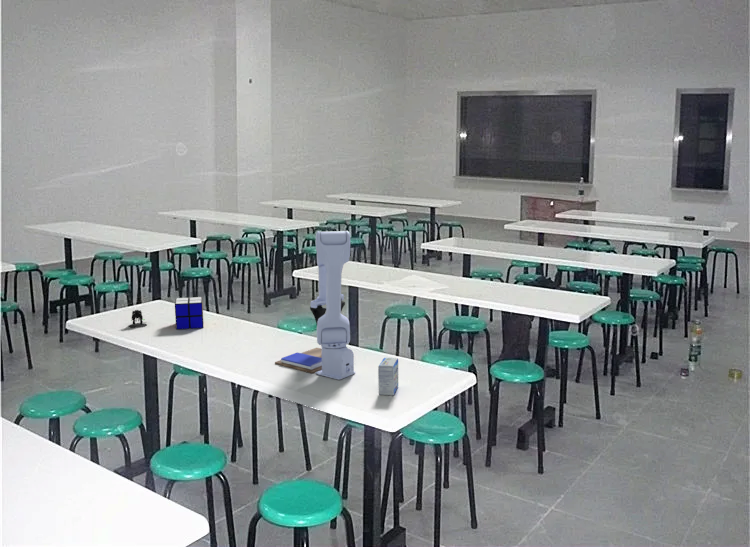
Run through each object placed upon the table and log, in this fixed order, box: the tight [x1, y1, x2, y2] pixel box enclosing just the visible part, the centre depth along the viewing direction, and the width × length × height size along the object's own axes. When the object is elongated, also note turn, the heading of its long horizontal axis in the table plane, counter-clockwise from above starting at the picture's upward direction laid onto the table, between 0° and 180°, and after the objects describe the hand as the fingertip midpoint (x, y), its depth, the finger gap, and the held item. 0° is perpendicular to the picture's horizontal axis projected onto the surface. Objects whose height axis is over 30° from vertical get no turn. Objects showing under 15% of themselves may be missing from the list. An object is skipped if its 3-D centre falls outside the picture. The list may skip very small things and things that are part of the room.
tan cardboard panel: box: [274, 347, 322, 374], centre depth 229 cm, size 16×20×4 cm
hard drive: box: [280, 352, 322, 370], centre depth 225 cm, size 2×8×12 cm
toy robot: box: [127, 309, 148, 329], centre depth 271 cm, size 12×12×12 cm
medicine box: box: [377, 357, 399, 396], centre depth 202 cm, size 8×4×9 cm, turn 168°
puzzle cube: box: [174, 296, 204, 330], centre depth 271 cm, size 10×10×10 cm
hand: (327, 325), depth 236 cm, fingers open, 7 cm apart
